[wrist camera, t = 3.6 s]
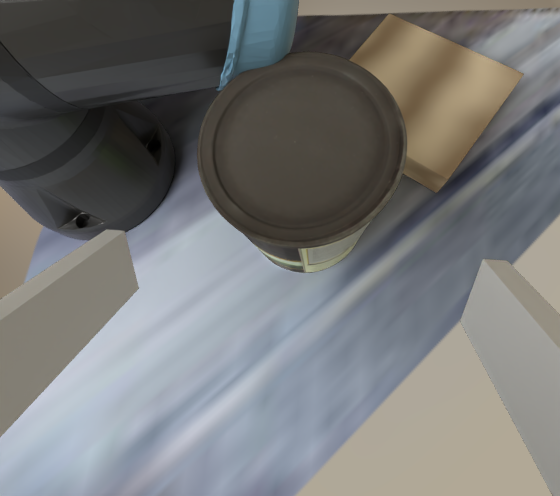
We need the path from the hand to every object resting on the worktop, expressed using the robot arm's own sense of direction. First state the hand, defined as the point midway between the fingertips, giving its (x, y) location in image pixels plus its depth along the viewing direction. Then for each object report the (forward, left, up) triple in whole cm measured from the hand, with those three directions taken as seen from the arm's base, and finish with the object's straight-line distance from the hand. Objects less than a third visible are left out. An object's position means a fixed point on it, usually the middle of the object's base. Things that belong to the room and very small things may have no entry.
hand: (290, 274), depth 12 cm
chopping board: (-4, +22, -15) cm, 27 cm away
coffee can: (-5, +7, -16) cm, 18 cm away
